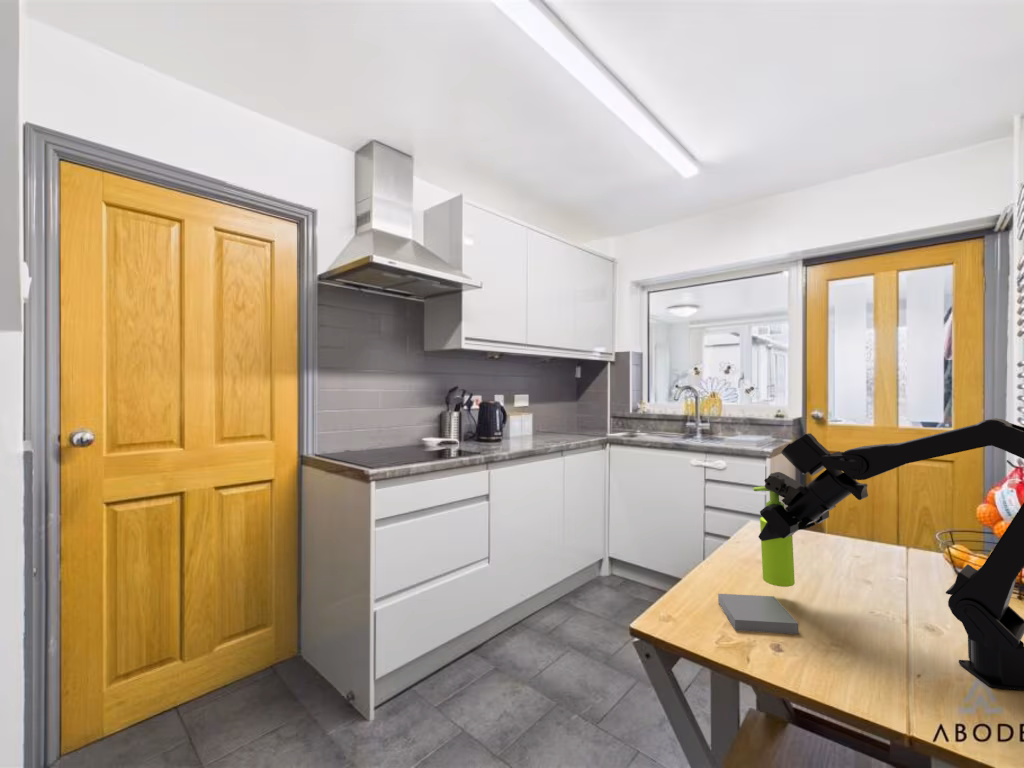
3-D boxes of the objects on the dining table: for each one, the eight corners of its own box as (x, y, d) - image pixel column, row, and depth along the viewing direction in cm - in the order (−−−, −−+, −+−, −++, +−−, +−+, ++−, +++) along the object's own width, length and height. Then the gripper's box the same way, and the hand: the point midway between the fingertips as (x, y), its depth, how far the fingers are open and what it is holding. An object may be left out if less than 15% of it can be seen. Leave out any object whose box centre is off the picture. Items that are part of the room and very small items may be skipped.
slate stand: (798, 634, 84) (798, 623, 84) (735, 630, 86) (734, 619, 86) (774, 605, 95) (774, 596, 95) (718, 603, 97) (718, 593, 97)
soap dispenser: (758, 572, 103) (753, 483, 102) (794, 577, 99) (789, 485, 99) (757, 583, 97) (752, 489, 97) (795, 588, 94) (790, 491, 94)
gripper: (810, 456, 101) (761, 498, 110) (768, 466, 90) (717, 511, 99) (854, 499, 94) (798, 539, 103) (814, 515, 83) (755, 558, 92)
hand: (767, 535), depth 99 cm, fingers closed on soap dispenser, 6 cm apart
